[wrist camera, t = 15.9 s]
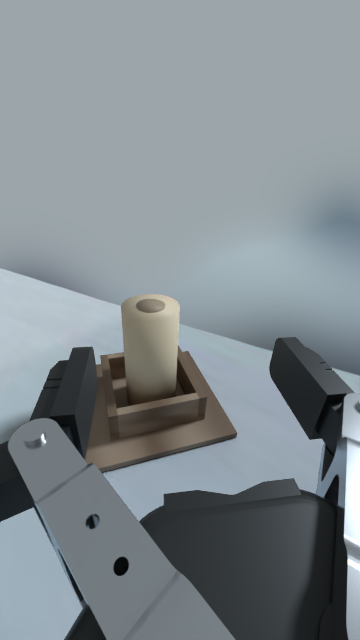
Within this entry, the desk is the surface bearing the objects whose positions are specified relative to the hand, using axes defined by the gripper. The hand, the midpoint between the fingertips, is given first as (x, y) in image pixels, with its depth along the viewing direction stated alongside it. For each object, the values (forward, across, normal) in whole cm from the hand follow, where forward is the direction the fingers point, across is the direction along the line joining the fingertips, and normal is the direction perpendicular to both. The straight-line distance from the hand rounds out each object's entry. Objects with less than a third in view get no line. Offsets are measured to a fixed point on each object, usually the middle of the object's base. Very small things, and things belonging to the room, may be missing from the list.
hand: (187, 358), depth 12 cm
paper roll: (+13, +1, +15) cm, 20 cm away
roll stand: (+13, +2, +15) cm, 20 cm away
